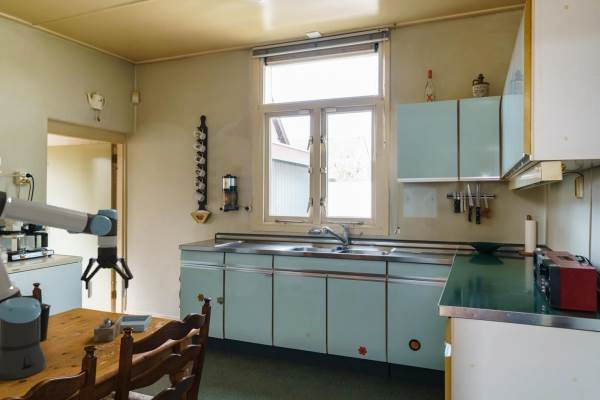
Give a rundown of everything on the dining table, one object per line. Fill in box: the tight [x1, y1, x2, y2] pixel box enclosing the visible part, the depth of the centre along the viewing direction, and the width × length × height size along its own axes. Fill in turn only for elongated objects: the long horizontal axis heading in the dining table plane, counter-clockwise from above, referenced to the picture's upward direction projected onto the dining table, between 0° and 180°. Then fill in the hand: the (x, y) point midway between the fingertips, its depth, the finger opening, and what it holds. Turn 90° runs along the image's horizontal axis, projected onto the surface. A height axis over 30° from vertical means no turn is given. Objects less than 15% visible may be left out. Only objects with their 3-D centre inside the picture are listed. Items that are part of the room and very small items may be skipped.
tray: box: [116, 314, 153, 333], centre depth 190 cm, size 16×14×3 cm
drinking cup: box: [38, 290, 52, 343], centre depth 170 cm, size 8×8×20 cm
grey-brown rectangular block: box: [93, 318, 121, 342], centre depth 175 cm, size 10×7×6 cm
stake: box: [102, 316, 111, 328], centre depth 174 cm, size 4×3×8 cm
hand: (107, 296), depth 175 cm, fingers open, 13 cm apart
